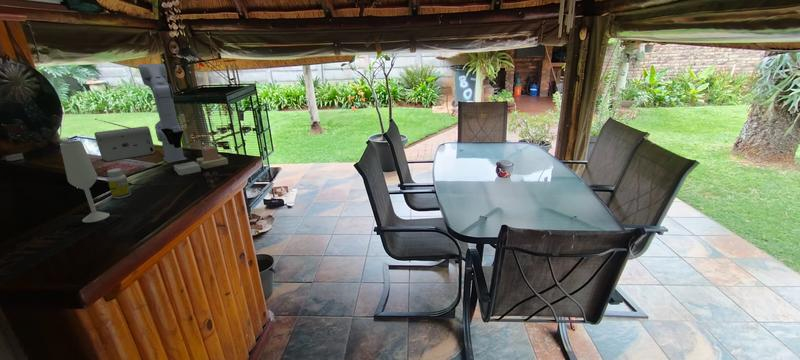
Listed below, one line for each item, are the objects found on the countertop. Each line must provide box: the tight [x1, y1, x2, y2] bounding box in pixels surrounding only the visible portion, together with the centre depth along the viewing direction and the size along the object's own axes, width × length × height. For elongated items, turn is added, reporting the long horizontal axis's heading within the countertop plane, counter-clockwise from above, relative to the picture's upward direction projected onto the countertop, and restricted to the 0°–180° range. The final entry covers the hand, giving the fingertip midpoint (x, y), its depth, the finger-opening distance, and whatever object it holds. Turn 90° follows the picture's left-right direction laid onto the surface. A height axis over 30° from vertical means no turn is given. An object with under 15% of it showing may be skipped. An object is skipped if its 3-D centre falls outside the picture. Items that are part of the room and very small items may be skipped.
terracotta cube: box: [200, 145, 219, 161], centre depth 159 cm, size 5×5×5 cm
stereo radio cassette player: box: [94, 118, 156, 163], centre depth 167 cm, size 21×8×20 cm, turn 133°
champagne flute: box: [59, 140, 110, 223], centre depth 106 cm, size 7×7×24 cm
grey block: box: [173, 161, 202, 176], centre depth 151 cm, size 8×8×3 cm
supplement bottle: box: [106, 167, 132, 200], centre depth 124 cm, size 5×5×10 cm
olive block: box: [195, 153, 229, 169], centre depth 160 cm, size 10×10×3 cm
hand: (175, 146), depth 152 cm, fingers open, 7 cm apart
